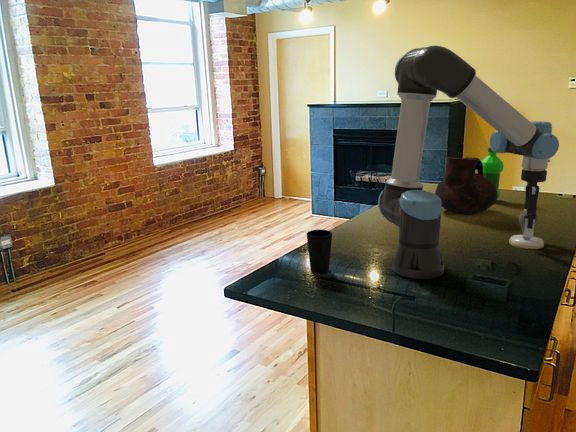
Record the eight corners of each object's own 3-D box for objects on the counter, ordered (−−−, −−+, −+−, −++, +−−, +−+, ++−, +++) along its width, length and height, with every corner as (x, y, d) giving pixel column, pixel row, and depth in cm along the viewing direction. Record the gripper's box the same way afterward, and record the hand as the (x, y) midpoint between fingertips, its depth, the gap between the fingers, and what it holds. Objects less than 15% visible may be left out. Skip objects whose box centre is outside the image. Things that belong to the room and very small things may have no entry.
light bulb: (529, 242, 160) (533, 214, 157) (513, 238, 164) (516, 210, 162) (539, 239, 163) (543, 211, 160) (523, 235, 168) (526, 208, 165)
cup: (324, 277, 140) (324, 238, 137) (302, 272, 144) (301, 234, 141) (336, 268, 146) (336, 231, 143) (314, 264, 150) (314, 228, 147)
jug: (507, 213, 203) (513, 155, 197) (471, 223, 190) (476, 161, 183) (458, 202, 223) (461, 149, 217) (422, 211, 210) (424, 155, 203)
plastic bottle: (504, 202, 221) (509, 149, 215) (481, 203, 221) (485, 149, 215) (495, 198, 231) (499, 146, 224) (473, 198, 231) (477, 147, 225)
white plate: (527, 250, 157) (527, 245, 157) (502, 241, 167) (502, 236, 167) (551, 246, 161) (551, 241, 161) (525, 237, 171) (525, 232, 170)
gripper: (550, 175, 145) (542, 243, 151) (544, 164, 166) (537, 224, 172) (523, 174, 148) (516, 241, 154) (520, 163, 169) (514, 222, 175)
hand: (527, 232), depth 163 cm, fingers open, 11 cm apart
